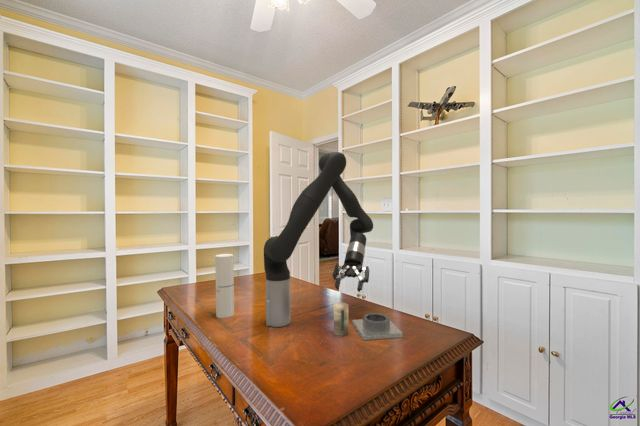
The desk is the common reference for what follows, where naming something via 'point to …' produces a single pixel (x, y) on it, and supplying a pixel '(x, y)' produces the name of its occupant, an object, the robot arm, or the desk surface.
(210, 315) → the desk surface
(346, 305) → the cream rounded cylinder
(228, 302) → the cylindrical container
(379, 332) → the socket plate
